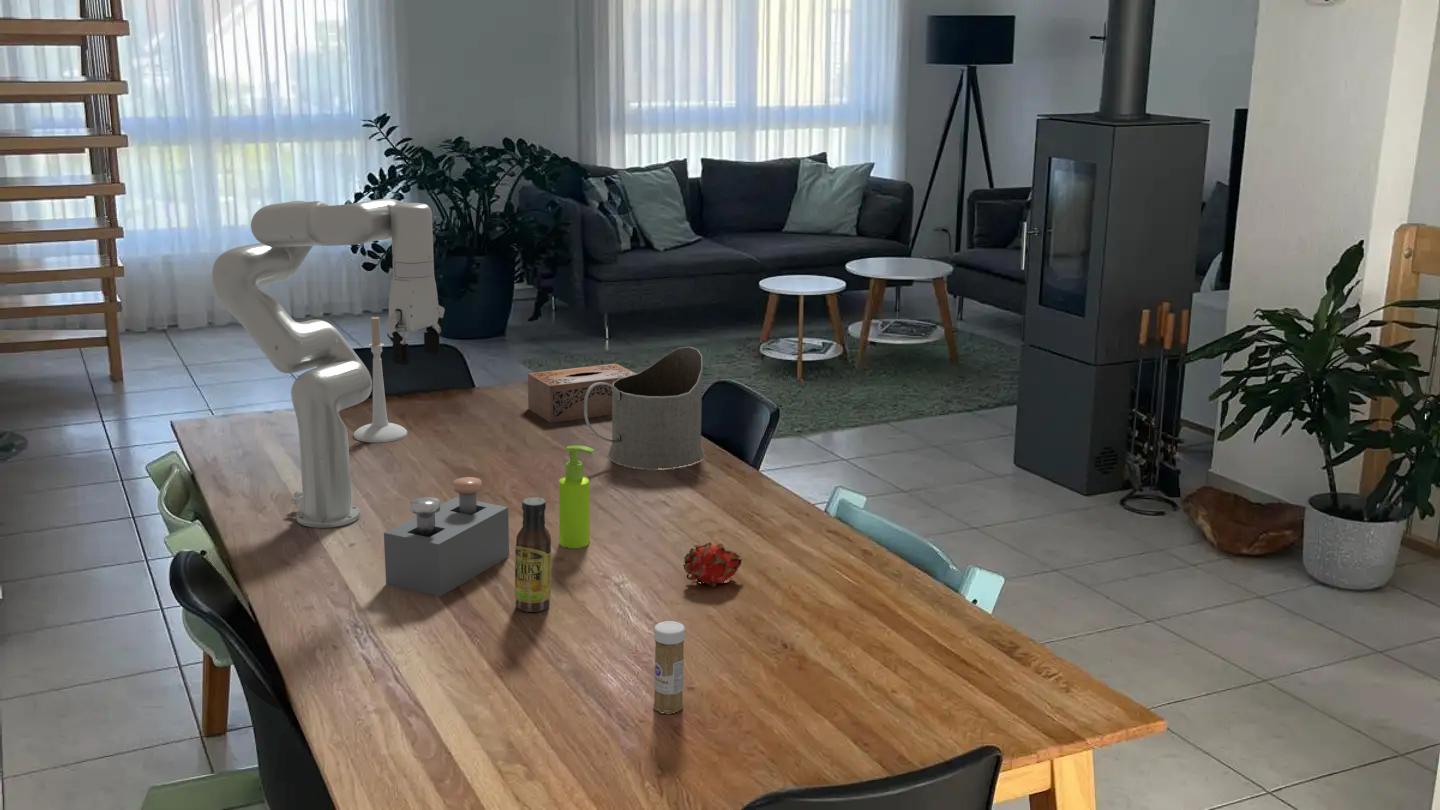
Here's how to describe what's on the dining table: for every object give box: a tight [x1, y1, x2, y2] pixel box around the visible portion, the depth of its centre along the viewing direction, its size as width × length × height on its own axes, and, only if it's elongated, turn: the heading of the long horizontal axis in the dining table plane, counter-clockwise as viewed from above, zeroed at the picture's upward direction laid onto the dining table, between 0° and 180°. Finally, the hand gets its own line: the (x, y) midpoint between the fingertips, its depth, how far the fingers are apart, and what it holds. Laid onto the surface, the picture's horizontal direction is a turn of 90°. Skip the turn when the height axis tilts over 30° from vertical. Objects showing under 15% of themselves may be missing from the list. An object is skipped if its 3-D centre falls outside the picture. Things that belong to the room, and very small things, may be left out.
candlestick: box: [353, 316, 408, 444], centre depth 335 cm, size 13×13×30 cm
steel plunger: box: [410, 496, 441, 537], centre depth 249 cm, size 5×5×8 cm
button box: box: [383, 496, 510, 597], centre depth 256 cm, size 12×22×10 cm, turn 155°
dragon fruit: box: [682, 541, 742, 588], centre depth 254 cm, size 8×8×12 cm
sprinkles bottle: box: [653, 620, 686, 713], centre depth 206 cm, size 5×5×13 cm
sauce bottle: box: [514, 496, 552, 613], centre depth 240 cm, size 6×6×20 cm
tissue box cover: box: [527, 363, 637, 424], centre depth 364 cm, size 26×14×10 cm, turn 120°
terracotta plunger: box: [452, 476, 483, 515], centre depth 260 cm, size 5×5×8 cm
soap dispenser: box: [558, 445, 595, 549], centre depth 269 cm, size 6×7×20 cm
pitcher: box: [584, 346, 706, 469], centre depth 323 cm, size 23×32×25 cm
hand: (417, 358), depth 263 cm, fingers open, 9 cm apart
